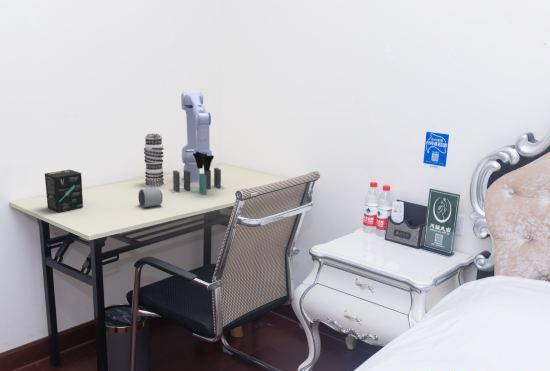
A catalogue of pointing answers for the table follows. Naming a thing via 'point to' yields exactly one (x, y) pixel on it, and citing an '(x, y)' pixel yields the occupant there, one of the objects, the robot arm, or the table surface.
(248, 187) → the table surface
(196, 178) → the robot arm
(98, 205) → the table surface
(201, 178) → the teal domino
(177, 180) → the black domino
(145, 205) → the grey cylinder
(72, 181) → the tampon box
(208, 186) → the black domino
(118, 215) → the table surface
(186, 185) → the black domino
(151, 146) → the decorative candle
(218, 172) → the black domino
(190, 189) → the sage board
